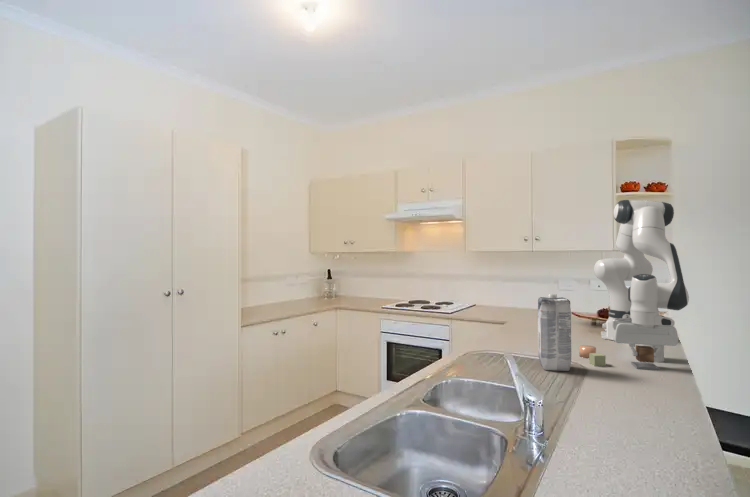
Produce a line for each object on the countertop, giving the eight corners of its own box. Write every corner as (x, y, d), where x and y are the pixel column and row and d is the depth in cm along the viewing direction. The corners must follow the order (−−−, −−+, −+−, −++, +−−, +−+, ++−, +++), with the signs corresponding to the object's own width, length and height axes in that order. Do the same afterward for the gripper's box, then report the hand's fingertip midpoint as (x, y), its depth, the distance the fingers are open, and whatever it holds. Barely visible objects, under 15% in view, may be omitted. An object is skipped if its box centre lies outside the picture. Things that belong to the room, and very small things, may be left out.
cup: (656, 356, 168) (656, 327, 168) (668, 362, 160) (668, 330, 160) (635, 356, 169) (634, 326, 169) (646, 362, 160) (645, 330, 160)
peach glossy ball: (578, 354, 173) (578, 344, 173) (594, 355, 171) (594, 345, 171) (581, 358, 167) (580, 348, 167) (597, 359, 165) (597, 349, 165)
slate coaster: (631, 363, 158) (631, 361, 158) (652, 365, 156) (652, 362, 156) (637, 368, 151) (637, 366, 151) (659, 370, 149) (659, 368, 149)
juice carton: (573, 372, 148) (572, 296, 148) (541, 371, 150) (540, 295, 150) (566, 365, 156) (566, 293, 156) (537, 364, 159) (536, 293, 159)
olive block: (589, 363, 159) (589, 353, 159) (599, 363, 159) (599, 353, 159) (594, 366, 155) (594, 355, 155) (605, 366, 155) (605, 355, 155)
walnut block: (639, 361, 152) (639, 348, 152) (635, 358, 157) (635, 345, 157) (654, 362, 151) (653, 348, 151) (649, 359, 155) (649, 346, 155)
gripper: (615, 319, 154) (615, 356, 154) (679, 321, 148) (680, 360, 148) (610, 316, 160) (610, 352, 160) (672, 318, 154) (672, 355, 154)
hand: (644, 356), depth 154 cm, fingers closed on walnut block, 4 cm apart
